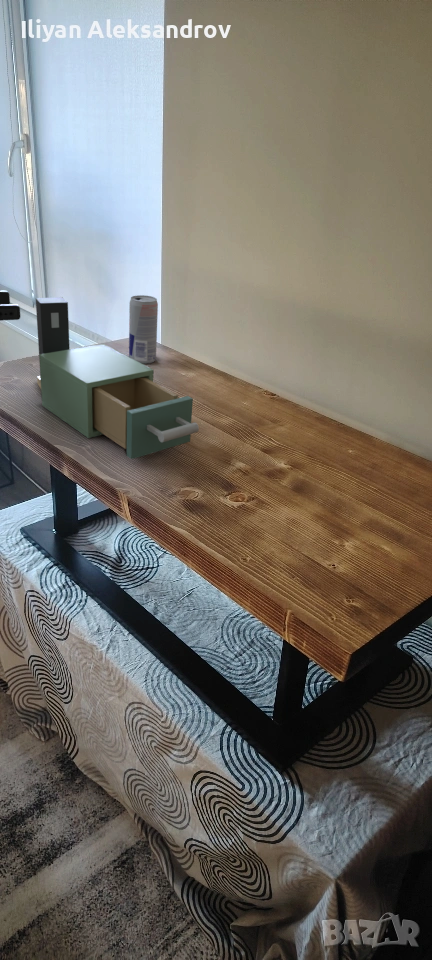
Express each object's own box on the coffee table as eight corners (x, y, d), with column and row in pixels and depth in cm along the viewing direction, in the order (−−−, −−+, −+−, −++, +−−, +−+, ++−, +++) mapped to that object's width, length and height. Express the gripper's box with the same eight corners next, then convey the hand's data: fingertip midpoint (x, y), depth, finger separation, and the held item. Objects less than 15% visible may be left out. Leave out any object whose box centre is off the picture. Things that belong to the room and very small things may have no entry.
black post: (37, 383, 109) (31, 296, 101) (67, 381, 111) (63, 295, 104) (44, 394, 105) (38, 304, 97) (74, 391, 107) (71, 303, 100)
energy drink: (139, 353, 127) (140, 293, 121) (161, 359, 125) (163, 298, 119) (123, 359, 123) (123, 298, 117) (145, 366, 121) (146, 303, 115)
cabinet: (152, 421, 99) (153, 369, 95) (88, 438, 92) (87, 383, 88) (103, 392, 108) (103, 343, 104) (42, 405, 101) (39, 354, 97)
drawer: (208, 452, 89) (212, 408, 86) (149, 472, 83) (150, 425, 79) (138, 410, 100) (139, 370, 97) (81, 425, 94) (80, 382, 90)
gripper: (-101, 294, 84) (22, 291, 91) (-107, 271, 95) (4, 270, 102) (-92, 348, 88) (25, 341, 95) (-99, 320, 99) (7, 315, 106)
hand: (14, 304), depth 98 cm, fingers open, 8 cm apart
